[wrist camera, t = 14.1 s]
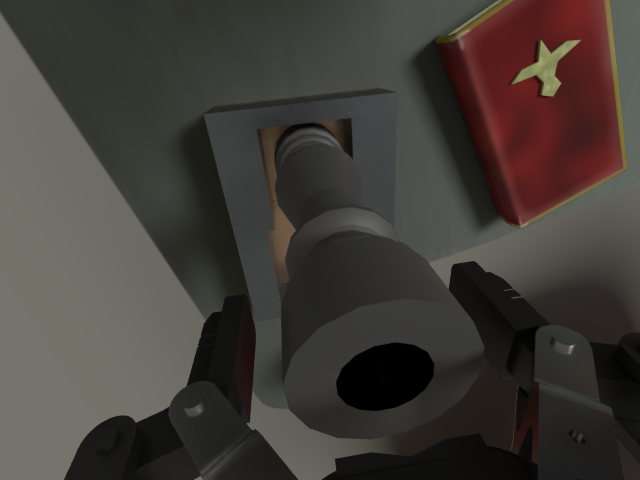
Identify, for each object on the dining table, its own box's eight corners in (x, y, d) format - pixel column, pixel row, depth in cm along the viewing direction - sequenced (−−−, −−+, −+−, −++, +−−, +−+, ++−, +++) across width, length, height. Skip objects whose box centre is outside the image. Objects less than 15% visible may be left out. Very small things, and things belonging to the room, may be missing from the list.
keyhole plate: (378, 88, 30) (397, 92, 25) (379, 274, 40) (392, 300, 35) (214, 106, 29) (203, 114, 24) (258, 292, 39) (256, 321, 35)
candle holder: (321, 196, 33) (411, 455, 11) (264, 170, 31) (238, 426, 9) (350, 139, 30) (539, 329, 9) (291, 108, 29) (342, 254, 7)
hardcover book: (495, 215, 38) (519, 231, 35) (430, 40, 29) (453, 36, 25) (594, 159, 36) (630, 169, 33) (560, -50, 27) (605, -68, 23)
